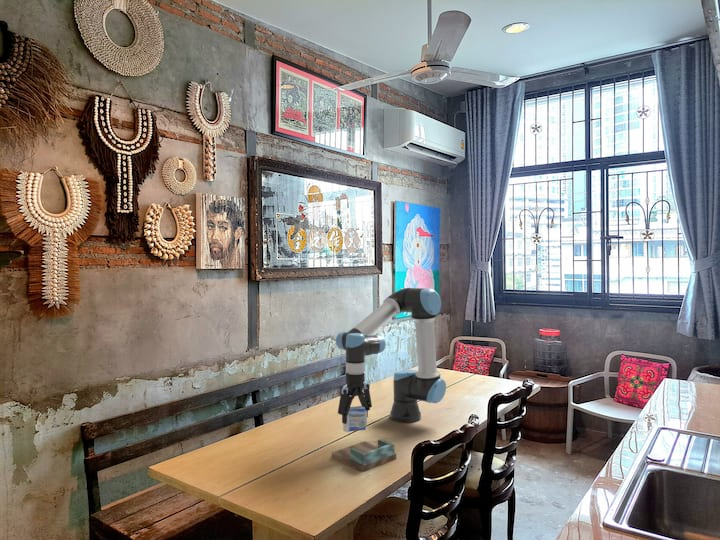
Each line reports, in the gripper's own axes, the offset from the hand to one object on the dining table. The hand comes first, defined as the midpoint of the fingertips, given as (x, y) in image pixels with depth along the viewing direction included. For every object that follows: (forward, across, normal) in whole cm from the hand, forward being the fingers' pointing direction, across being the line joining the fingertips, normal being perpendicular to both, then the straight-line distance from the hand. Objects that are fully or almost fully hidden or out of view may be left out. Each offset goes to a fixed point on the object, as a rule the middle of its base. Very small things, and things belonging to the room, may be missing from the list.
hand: (355, 428), depth 201 cm
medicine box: (0, 0, 0) cm, 0 cm away
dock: (+11, 0, +5) cm, 12 cm away
